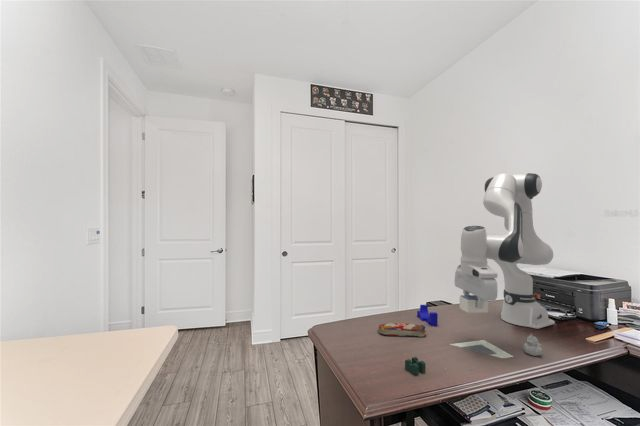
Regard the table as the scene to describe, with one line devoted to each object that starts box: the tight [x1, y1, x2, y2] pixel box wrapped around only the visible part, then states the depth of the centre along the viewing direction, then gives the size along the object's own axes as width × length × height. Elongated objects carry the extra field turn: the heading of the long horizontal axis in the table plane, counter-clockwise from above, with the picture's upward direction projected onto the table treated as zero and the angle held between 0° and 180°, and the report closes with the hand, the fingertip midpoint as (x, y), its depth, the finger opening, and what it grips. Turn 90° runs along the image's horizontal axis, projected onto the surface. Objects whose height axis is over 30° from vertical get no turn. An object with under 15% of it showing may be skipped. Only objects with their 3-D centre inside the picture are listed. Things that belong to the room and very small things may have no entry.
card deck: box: [459, 294, 489, 314], centre depth 102 cm, size 5×8×5 cm, turn 94°
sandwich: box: [378, 322, 427, 338], centre depth 114 cm, size 11×20×5 cm, turn 74°
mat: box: [449, 339, 514, 359], centre depth 100 cm, size 18×13×1 cm
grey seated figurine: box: [523, 333, 543, 357], centre depth 99 cm, size 5×7×8 cm
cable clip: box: [416, 304, 439, 327], centre depth 129 cm, size 12×4×6 cm, turn 3°
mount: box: [404, 356, 426, 377], centre depth 86 cm, size 11×4×5 cm, turn 119°
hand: (473, 305), depth 102 cm, fingers closed on card deck, 5 cm apart
